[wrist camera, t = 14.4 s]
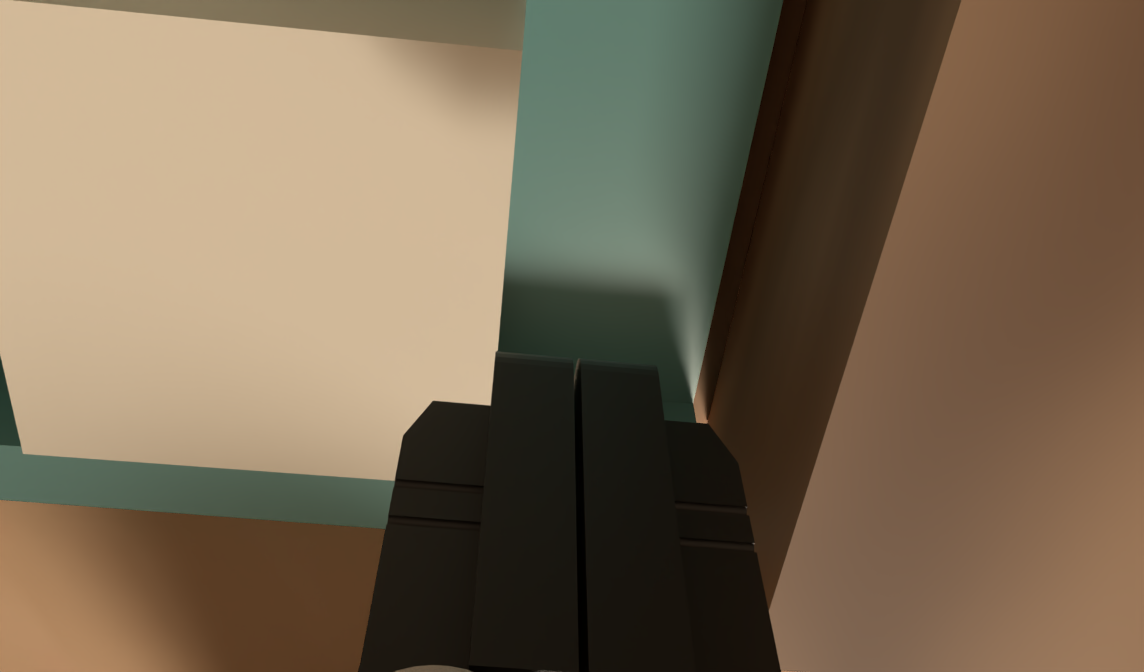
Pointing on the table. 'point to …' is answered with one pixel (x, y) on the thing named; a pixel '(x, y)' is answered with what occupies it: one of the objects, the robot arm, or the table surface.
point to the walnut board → (949, 341)
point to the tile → (252, 224)
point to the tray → (545, 236)
